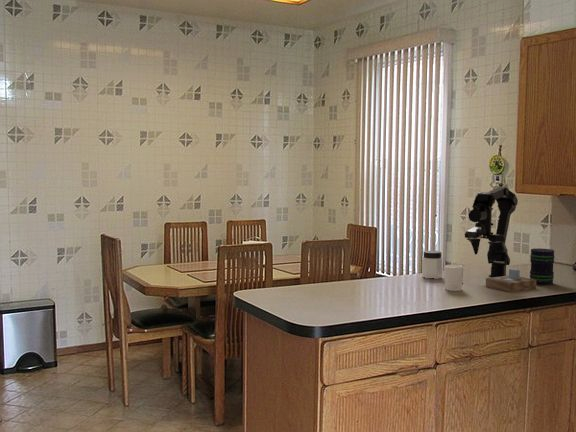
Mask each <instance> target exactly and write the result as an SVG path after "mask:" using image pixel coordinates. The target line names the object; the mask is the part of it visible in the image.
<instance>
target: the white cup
mask: <svg viewBox="0 0 576 432" xmlns="http://www.w3.org/2000/svg"><path fill="white" fill-rule="evenodd" d="M443 268H444V269H443V270H444V273H443V276H444V289H446V291H448V290H449V291H450V292H461V291H462V287H463V281H464V271H465V270H464V269H465V268H464V266H463V265H460V264H446V265H444V266H443ZM449 291H448V292H449Z"/></svg>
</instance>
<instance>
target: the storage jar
mask: <svg viewBox="0 0 576 432" xmlns="http://www.w3.org/2000/svg"><path fill="white" fill-rule="evenodd" d="M529 257H530V258H529V259H530V261H529V262H530V270H529V279H534V280H536V286H542V287H543V286H548V287H549V286H553V285H554V275H555V272H554V263H555V250H554V249H549V248H537V247H536V248H531V249H530V256H529Z"/></svg>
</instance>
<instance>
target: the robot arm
mask: <svg viewBox="0 0 576 432" xmlns="http://www.w3.org/2000/svg"><path fill="white" fill-rule="evenodd" d="M518 202H519V201H518V197H517V196H516V194H515V193H514V192H512V191H510V189H509V187H507V186H498V187H495V188H494V189H492V190H489V191H484V192H483V191H479V192H478V193H477V194H476V195H475V198H474V201H473V202H472V203H473V204H472V206H471V207H472V209H470V211H469V213H468V218H469V220H470V221H471V222H472V223H475V224H474V226H473V227H471V228H469V229H467V230H466V231H465V233H464V238H466V240H468V241H469V242H470V243H471V246H472V250H473V253H474V255H478V253H479V250H480V249H479V248H480V243H481V239H484V240H488V241H487V243H488V244H489V246H488V251H487V252H486V253H487V255H486V256H487V263H488V264H491V266H490V274H489V275H488V277H489V278H492V277H501V276H507V266H510V264H511V259H510V257H509V253H508V248H507V246H506V242H507V241H506V240H507V236H508V235H507V234H508V230H509V225H510V219H511V215H512V214H513V213H514V212H515V211H516V208H517V206H518V204H519V203H518ZM495 203H497V208H498V211H499V216H498V221H497V226H496V231H495V234H494V232H492V226H494V222H492V218H493V217H492V214H493V213H492V211H493V210H494V208H493V206H494V204H495Z"/></svg>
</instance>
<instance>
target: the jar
mask: <svg viewBox="0 0 576 432" xmlns="http://www.w3.org/2000/svg"><path fill="white" fill-rule="evenodd" d="M442 257H443V256H442V251H439V250H424V251H423V256H422V262H421V264H422V265H421V267H422V268H421V269H422V271H421V276H423V278H424V277H425V278H424V279H427V278H434V279H433V280H438V279H437V278H439V279H443V258H442Z"/></svg>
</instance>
